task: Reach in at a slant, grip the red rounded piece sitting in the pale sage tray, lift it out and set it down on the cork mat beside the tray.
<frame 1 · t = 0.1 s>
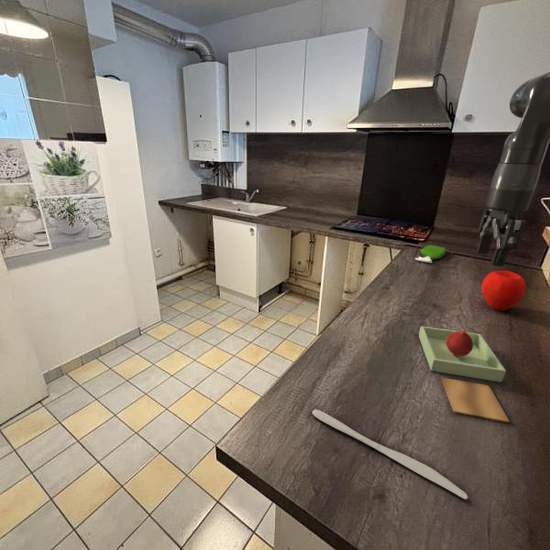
hand: (489, 259, 67), 27 cm above the worktop, tool pointing down, fingers open, 8 cm apart
apple: (495, 308, 101), on the worktop
spray bottle: (429, 257, 150), on the worktop
tray: (455, 356, 76), on the worktop
red rounded piece: (455, 356, 76), resting on tray
butter knife: (379, 448, 52), on the worktop
cork mat: (471, 398, 63), on the worktop
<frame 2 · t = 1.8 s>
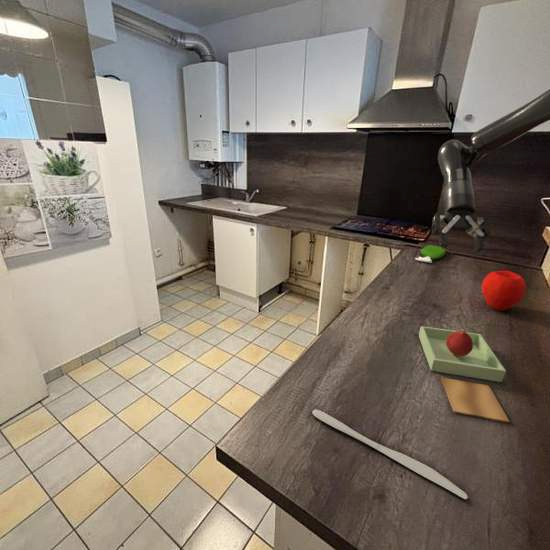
hand: (461, 249, 80), 25 cm above the worktop, tool tilted 45°, fingers open, 8 cm apart
nothing on the worktop moved.
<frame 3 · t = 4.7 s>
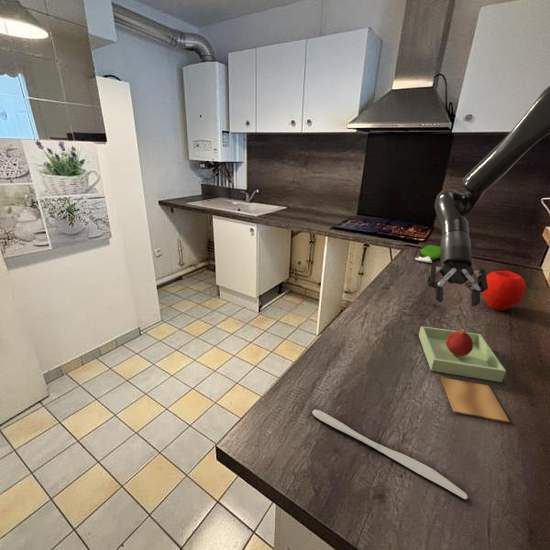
hand: (457, 303, 79), 12 cm above the worktop, tool tilted 45°, fingers open, 8 cm apart
nothing on the worktop moved.
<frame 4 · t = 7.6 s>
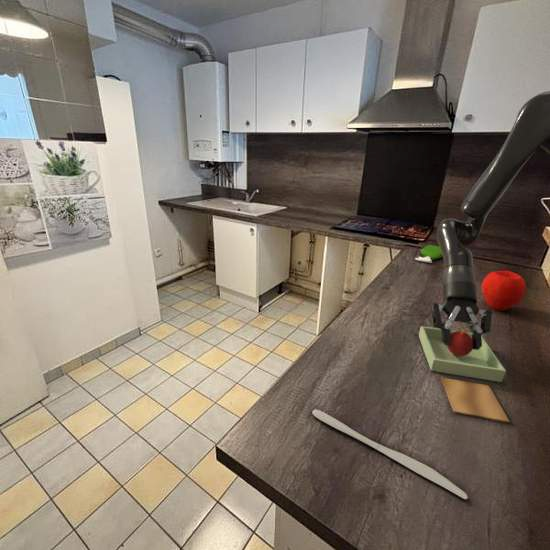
hand: (461, 346, 73), 4 cm above the worktop, tool tilted 45°, fingers closed on red rounded piece, 6 cm apart
red rounded piece: (455, 356, 76), resting on tray, touching gripper
everything else where it was.
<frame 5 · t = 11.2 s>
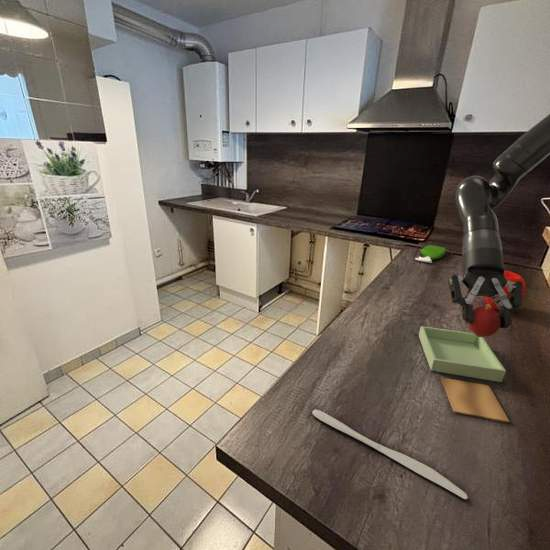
hand: (487, 325, 61), 16 cm above the worktop, tool tilted 45°, fingers closed on red rounded piece, 6 cm apart
red rounded piece: (478, 336, 64), point 12 cm above the worktop, touching gripper
everything else where it was.
when the fingers open (4 cm above the worktop, at t = 15.1 s): red rounded piece stays where it is, resting on cork mat.
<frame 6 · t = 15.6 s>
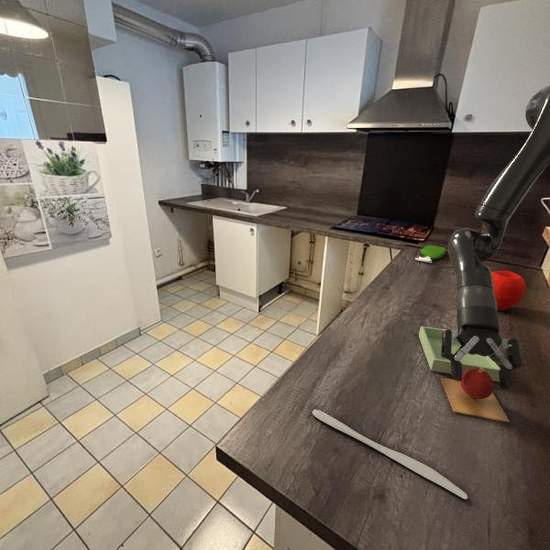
hand: (481, 384, 60), 5 cm above the worktop, tool tilted 45°, fingers open, 8 cm apart
red rounded piece: (471, 397, 63), resting on cork mat
everything else where it was.
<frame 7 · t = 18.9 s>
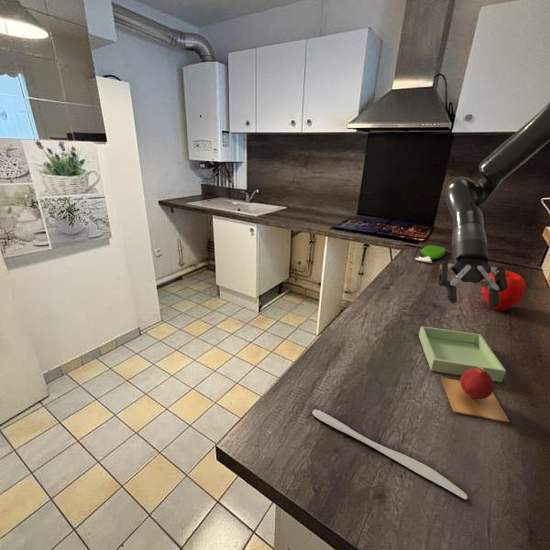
hand: (473, 304, 70), 16 cm above the worktop, tool tilted 45°, fingers open, 8 cm apart
nothing on the worktop moved.
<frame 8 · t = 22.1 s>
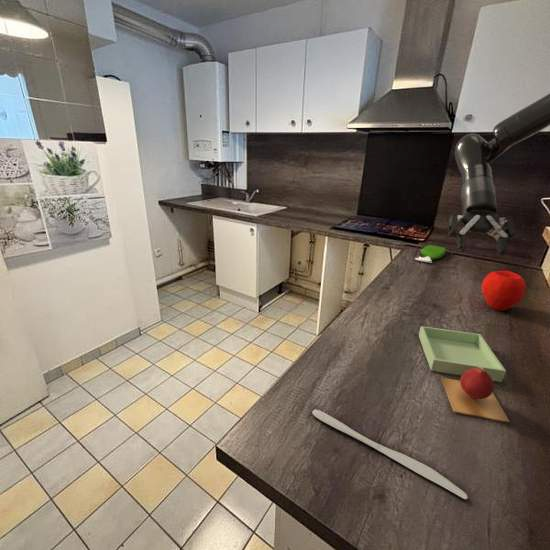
hand: (482, 251, 72), 27 cm above the worktop, tool tilted 45°, fingers open, 8 cm apart
nothing on the worktop moved.
at the end: red rounded piece inside the target area on the cork mat (0.1 cm from its centre), point 0.2 cm above the cork mat's base; red rounded piece touching cork mat; the gripper is holding nothing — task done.
